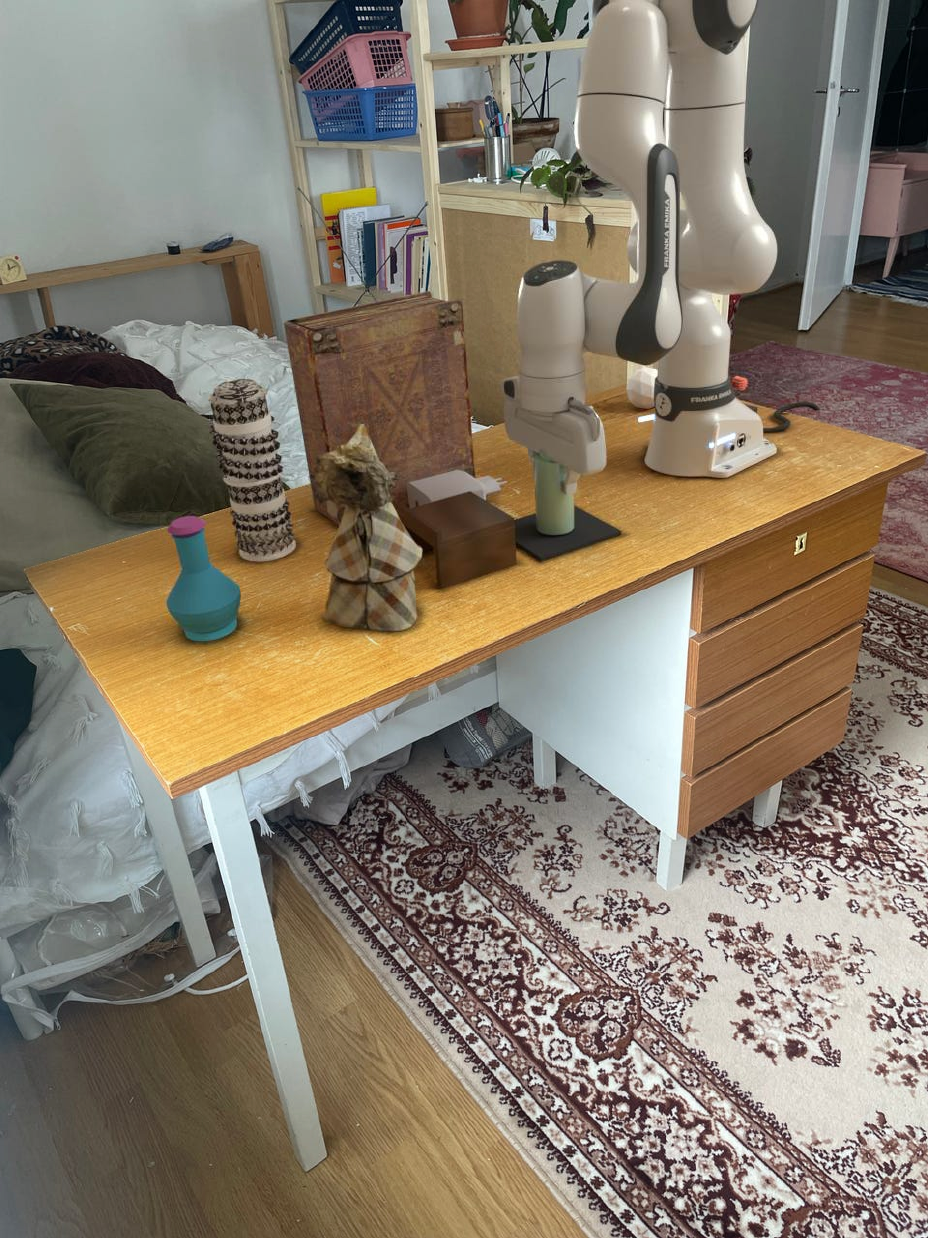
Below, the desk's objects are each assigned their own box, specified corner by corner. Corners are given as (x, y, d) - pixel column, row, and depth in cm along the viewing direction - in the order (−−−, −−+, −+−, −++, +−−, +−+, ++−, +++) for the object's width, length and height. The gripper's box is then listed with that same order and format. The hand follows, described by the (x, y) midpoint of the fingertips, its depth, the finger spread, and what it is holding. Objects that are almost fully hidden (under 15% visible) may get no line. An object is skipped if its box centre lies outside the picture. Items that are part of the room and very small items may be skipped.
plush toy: (467, 606, 119) (415, 413, 110) (384, 653, 112) (321, 451, 103) (401, 594, 130) (349, 417, 121) (321, 636, 122) (259, 451, 113)
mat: (569, 506, 146) (569, 502, 146) (621, 534, 136) (621, 530, 136) (492, 530, 141) (492, 526, 140) (540, 561, 131) (540, 557, 130)
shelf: (473, 534, 140) (469, 481, 136) (516, 563, 131) (514, 508, 126) (401, 556, 135) (395, 502, 131) (441, 589, 126) (435, 532, 122)
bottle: (560, 515, 141) (558, 409, 133) (582, 528, 137) (581, 419, 129) (528, 525, 139) (524, 418, 131) (550, 538, 135) (547, 428, 126)
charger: (519, 503, 148) (434, 528, 143) (490, 485, 156) (408, 508, 150) (517, 475, 146) (431, 499, 140) (489, 458, 153) (405, 480, 148)
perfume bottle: (261, 623, 121) (239, 517, 114) (201, 654, 116) (174, 545, 108) (219, 603, 127) (195, 500, 119) (160, 632, 121) (131, 526, 114)
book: (446, 469, 163) (431, 290, 148) (476, 484, 156) (463, 298, 141) (314, 510, 152) (283, 320, 137) (340, 528, 145) (310, 331, 130)
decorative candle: (232, 543, 143) (197, 380, 131) (292, 530, 146) (263, 370, 133) (240, 567, 136) (203, 398, 123) (303, 554, 138) (274, 386, 125)
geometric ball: (653, 422, 184) (661, 398, 177) (616, 406, 185) (622, 381, 178) (668, 394, 187) (677, 369, 179) (631, 378, 188) (639, 352, 181)
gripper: (618, 403, 121) (617, 502, 128) (531, 370, 137) (534, 460, 144) (578, 413, 118) (579, 514, 125) (494, 379, 134) (499, 470, 141)
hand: (554, 485), depth 135 cm, fingers closed on bottle, 5 cm apart
